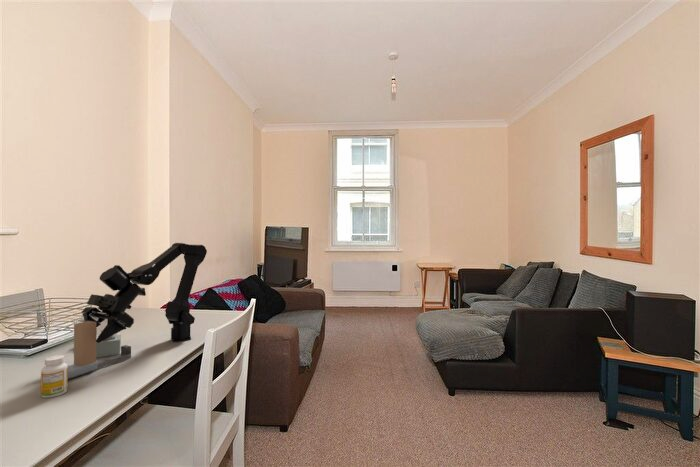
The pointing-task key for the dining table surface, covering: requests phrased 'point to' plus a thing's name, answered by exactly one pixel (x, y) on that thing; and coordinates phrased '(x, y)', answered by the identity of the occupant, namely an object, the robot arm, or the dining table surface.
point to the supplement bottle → (54, 377)
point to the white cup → (102, 326)
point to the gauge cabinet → (109, 347)
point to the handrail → (113, 359)
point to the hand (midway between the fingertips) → (87, 340)
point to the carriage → (84, 349)
